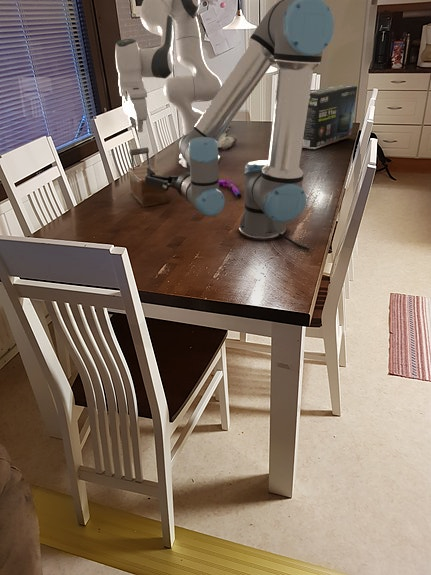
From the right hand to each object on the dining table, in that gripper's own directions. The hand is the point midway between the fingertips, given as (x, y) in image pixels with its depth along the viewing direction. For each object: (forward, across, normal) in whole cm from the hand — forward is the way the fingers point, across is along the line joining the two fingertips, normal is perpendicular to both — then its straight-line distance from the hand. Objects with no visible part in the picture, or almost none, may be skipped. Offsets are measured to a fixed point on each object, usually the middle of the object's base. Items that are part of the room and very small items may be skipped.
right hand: (168, 169), depth 150 cm
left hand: (+35, 0, +6) cm, 35 cm away
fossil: (+87, +58, -19) cm, 106 cm away
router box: (+62, +109, -18) cm, 126 cm away
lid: (+28, 0, -9) cm, 30 cm away
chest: (+28, 0, -19) cm, 34 cm away
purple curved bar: (+21, +31, -19) cm, 42 cm away
